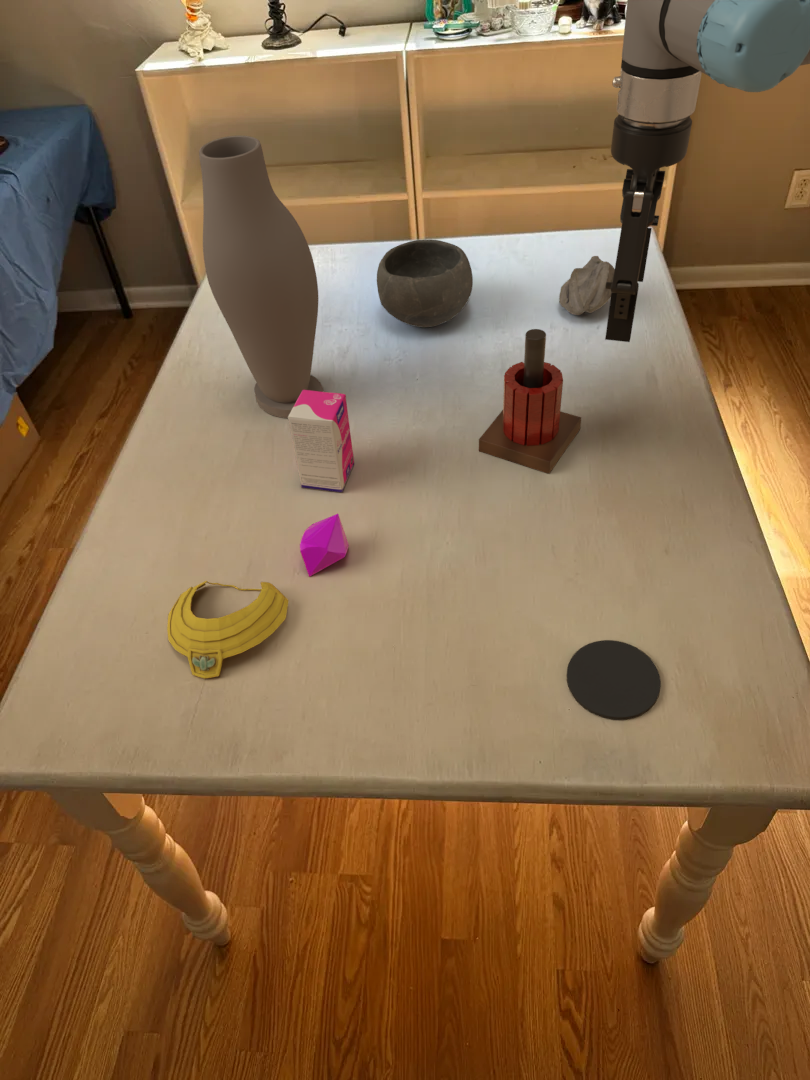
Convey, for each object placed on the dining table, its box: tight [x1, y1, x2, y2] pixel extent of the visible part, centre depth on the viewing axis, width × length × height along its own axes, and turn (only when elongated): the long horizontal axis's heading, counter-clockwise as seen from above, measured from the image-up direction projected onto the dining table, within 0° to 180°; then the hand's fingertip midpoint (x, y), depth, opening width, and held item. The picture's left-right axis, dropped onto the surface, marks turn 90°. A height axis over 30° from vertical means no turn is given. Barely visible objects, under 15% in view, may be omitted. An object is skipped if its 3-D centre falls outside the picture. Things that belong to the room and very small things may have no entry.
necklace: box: [166, 580, 290, 679], centre depth 85 cm, size 13×13×4 cm
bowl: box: [376, 239, 474, 328], centre depth 123 cm, size 15×15×10 cm
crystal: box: [299, 513, 350, 578], centre depth 90 cm, size 5×5×5 cm
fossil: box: [558, 255, 615, 316], centre depth 122 cm, size 11×9×8 cm
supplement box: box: [287, 390, 355, 493], centre depth 97 cm, size 6×6×12 cm
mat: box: [566, 639, 662, 721], centre depth 77 cm, size 9×9×1 cm
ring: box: [502, 361, 564, 446], centre depth 99 cm, size 7×7×8 cm
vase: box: [198, 135, 324, 419], centre depth 101 cm, size 13×13×35 cm
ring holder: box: [478, 328, 582, 475], centre depth 98 cm, size 10×10×16 cm
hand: (625, 308), depth 93 cm, fingers open, 13 cm apart
